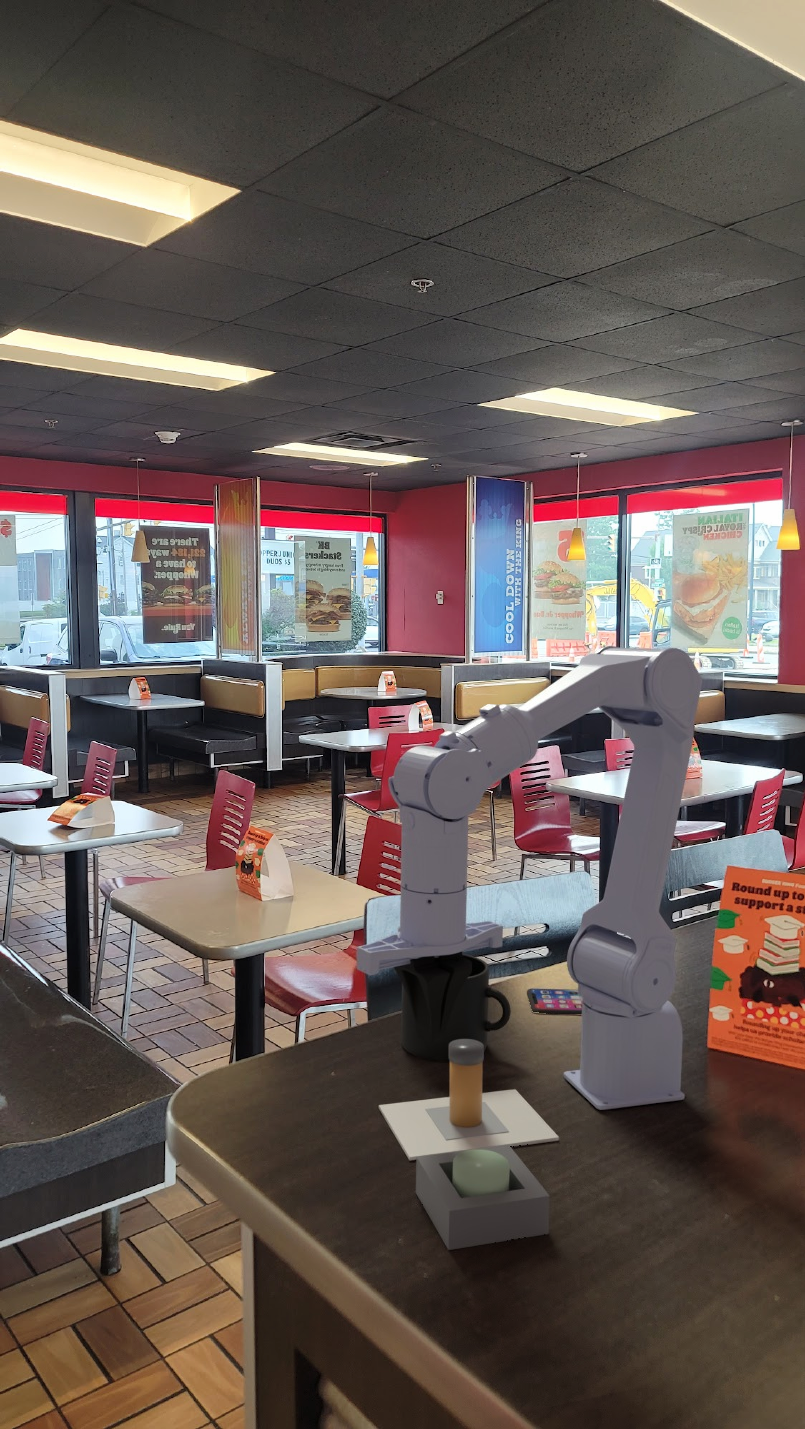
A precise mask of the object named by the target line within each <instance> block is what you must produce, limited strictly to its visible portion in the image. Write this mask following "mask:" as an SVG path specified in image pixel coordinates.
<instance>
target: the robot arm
mask: <svg viewBox="0 0 805 1429" xmlns="http://www.w3.org/2000/svg"><path fill="white" fill-rule="evenodd" d="M703 681H704V680H703V678H702V677H701V674H700V673H699V671H698V669H697V667H696V665H695V663H694V661H693V660H692V658H691V657H690V655H689V654H688V653H687V652H686V651H685V650H682V649H680V648H677V647H667V648H636V647H634V648H632V647H619V646H613V645H607V646H602V647H600V648H598V649H597V650H596V651H594V653H590V654H587V655H584V656H582V657H581V658H580V660H579V664H578V665H577V666H576V667H575V668H573V669H572V670H570V671H569V672H568V673H566V674H565V675H563V676H562V677H560V678H559V679H557V680H556V681H555V682H553V683H551V684H550V685H549V686H547V687H546V688H545V689H543V690H542V691H540V692H539V693H538V694H536V695H535V696H533V697H532V698H530V699H528V700H527V701H525V703H523V704H522V705H520V706H519V707H515V706H514V705H510V704H506V703H502V704H501V703H500V704H493V703H488V704H486V705H484V706H483V707H481V708H479V709H478V712H479V716H478V717H476V718H475V719H473V720H471V721H469V722H468V723H466V724H465V725H463V726H461V727H460V728H458V729H456V730H455V731H452V730H451V731H450V730H446V731H444V732H443V733H441V734H439V737H438V739H439V740H438V741H437V742H435V745H434V746H430V745H417V746H414V747H412V748H410V749H408V750H407V751H406V752H405V753H404V754H403V755H402V756H401V757H400V758H399V760H398V762H397V764H396V766H395V768H394V772H393V776H390V777H389V778H388V781H387V782H388V789H389V793H390V795H391V797H392V799H393V800H394V802H395V803H396V804H397V806H398V810H399V823H400V824H401V840H400V841H401V844H400V845H401V850H400V851H401V852H400V853H401V854H400V855H401V856H400V911H399V913H400V914H399V918H400V919H399V926H398V928H397V931H398V932H397V931H396V932H395V933H393V934H391V935H389V936H386V937H383V938H381V939H378V940H376V941H374V942H371V943H367V944H364V945H360V946H357V947H356V969H357V971H360V972H362V973H364V974H366V975H368V976H373V975H377V974H379V973H380V971H381V970H382V971H383V970H386V969H390V968H393V969H394V971H395V972H396V974H397V976H398V978H399V980H400V981H401V985H402V984H403V986H404V988H405V991H406V993H407V996H408V998H409V1001H410V1004H411V1008H412V1011H413V1015H414V1019H415V1024H416V1029H417V1034H418V1037H419V1038H421V1039H422V1040H424V1041H426V1042H428V1043H430V1044H435V1043H438V1042H442V1041H443V1040H444V1036H445V1032H446V1029H447V1025H448V1022H449V1018H450V1015H451V1012H452V1009H453V1006H454V1003H455V1001H456V998H457V996H458V994H459V992H460V990H461V988H462V986H463V984H464V983H465V981H466V980H467V978H468V977H469V975H470V974H471V971H472V962H471V961H470V960H468V959H466V958H463V957H462V954H463V953H465V952H469V951H474V950H479V949H484V948H486V947H490V948H492V949H497V948H502V947H503V939H504V938H503V933H504V932H503V931H504V930H503V929H504V925H502V924H499V923H496V922H493V921H490V920H486V921H479V922H478V921H477V922H469V923H467V905H468V904H467V903H468V902H467V901H468V900H467V895H468V894H467V893H468V857H469V856H468V854H469V853H468V850H469V849H468V848H469V846H468V844H469V841H468V840H469V815H472V814H473V813H474V812H476V811H477V809H478V807H479V806H480V804H481V802H482V799H483V797H484V795H485V792H486V791H487V790H488V789H490V788H491V786H493V785H494V784H496V783H498V782H499V781H501V780H503V779H504V778H505V777H507V776H508V775H509V774H512V773H513V772H515V771H517V769H520V767H521V768H522V766H524V765H525V764H527V763H528V762H530V761H531V760H532V759H534V758H535V756H536V755H537V752H538V747H539V740H541V739H542V738H545V737H546V736H548V735H551V733H553V732H555V731H557V730H559V729H560V728H563V727H565V726H566V725H568V724H570V723H572V722H574V721H575V720H577V719H579V718H581V717H583V716H585V715H586V714H588V713H590V712H592V711H594V710H596V709H599V710H601V711H602V712H603V713H604V714H605V715H606V716H607V717H609V718H610V719H611V720H612V721H613V722H614V723H615V724H616V725H617V726H618V727H620V728H621V729H622V730H623V731H624V733H626V735H627V737H628V739H629V740H630V741H631V743H632V745H633V747H634V749H633V754H632V758H631V763H630V768H629V774H628V778H627V782H626V787H625V791H624V792H625V793H624V796H623V797H624V798H623V801H622V808H621V811H620V812H621V813H620V816H619V820H618V821H619V822H618V826H617V832H616V838H615V841H614V847H613V852H612V856H611V860H610V861H611V862H610V865H609V871H608V877H607V880H606V886H605V890H604V894H603V899H602V900H601V901H599V902H598V903H596V904H595V905H593V906H591V907H590V908H589V909H587V910H586V911H584V912H583V913H582V917H581V920H580V921H581V922H580V925H579V928H578V931H577V933H576V934H575V936H574V938H573V939H572V941H571V943H570V945H569V948H568V950H567V956H566V966H567V971H568V974H569V977H570V978H571V979H572V980H573V982H574V983H576V984H577V990H578V995H580V996H581V997H582V999H583V1000H582V1015H581V1026H580V1027H581V1029H580V1030H581V1032H580V1033H581V1034H580V1056H579V1057H580V1058H579V1059H580V1063H579V1069H576V1070H566V1071H564V1072H563V1078H564V1079H565V1080H566V1081H567V1082H569V1083H570V1084H571V1085H572V1086H573V1087H574V1088H575V1090H577V1091H578V1092H579V1093H580V1094H581V1095H582V1096H583V1097H584V1098H586V1099H587V1100H588V1102H589V1103H591V1105H593V1106H594V1107H595V1108H596V1109H597V1110H600V1111H602V1110H604V1111H605V1110H612V1109H619V1108H629V1107H635V1106H644V1105H650V1104H656V1103H659V1104H661V1103H667V1102H675V1101H682V1100H684V1099H685V1096H686V1095H685V1093H684V1092H682V1091H681V1084H682V1083H681V1082H682V1063H683V1062H682V1059H683V1039H684V1038H683V1034H684V1033H683V1026H682V1021H681V1018H680V1015H679V1012H678V1011H677V1009H676V1007H675V1005H673V1004H672V1002H671V1001H669V999H670V997H671V996H672V993H673V991H674V989H675V984H676V980H677V978H676V977H677V969H676V968H677V967H676V962H675V961H676V960H675V954H676V952H675V951H676V946H677V943H678V942H677V940H678V939H677V938H676V936H675V934H674V932H673V931H672V930H671V928H670V926H669V925H668V924H667V923H666V921H665V920H664V918H663V917H662V915H661V913H660V907H661V902H662V897H663V892H664V889H665V888H664V887H665V881H666V876H667V872H668V866H669V862H670V857H671V851H672V847H673V843H674V838H675V832H676V827H677V822H678V818H679V812H680V808H681V803H682V799H683V791H684V789H685V783H686V778H687V773H688V767H689V763H690V760H691V759H690V758H691V753H692V748H693V745H694V734H695V733H694V732H695V731H694V725H695V721H696V716H697V715H696V714H697V711H698V705H699V699H700V696H701V691H702V686H703Z"/></svg>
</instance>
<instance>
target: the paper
mask: <svg viewBox="0 0 805 1429" xmlns="http://www.w3.org/2000/svg"><path fill="white" fill-rule="evenodd" d="M449 1103H450V1096H447V1097H446V1096H445V1097H437V1098H431V1099H430V1098H429V1099H422V1100H421V1099H420V1100H414V1101H403V1102H395V1103H387V1104H379V1105H378V1110H379V1112H380V1113H381V1114H382V1117H383V1118H384V1120H385V1122H386V1123H387V1125H388V1127H389V1128H390V1130H391V1132H392V1133H393V1135H394V1137H395V1138H396V1140H397V1142H398V1144H399V1145H400V1147H401V1149H402V1150H403V1152H404V1154H405V1155H406V1157H407V1159H408V1161H409V1162H410V1161H415V1160H417V1157H420V1156H428V1155H435V1154H443V1153H450V1152H458V1151H465V1150H473V1149H480V1148H488V1147H495V1146H503V1145H509V1146H512V1147H511V1148H513V1146H514V1147H520V1146H519V1145H521V1146H528V1145H534V1144H542V1143H548V1142H549V1143H550V1142H558V1141H560V1137H559V1135H558V1134H556V1132H555V1131H554V1130H553V1128H551V1126H549V1125H548V1123H546V1121H545V1120H544V1119H543V1118H542V1117H541V1116H540V1115H539V1113H538V1112H537V1111H536V1110H535V1109H534V1107H532V1106H531V1105H530V1104H529V1103H528V1102H527V1100H526V1099H525V1098H524V1097H523V1096H522V1095H521V1094H520V1093H519V1092H518V1090H517V1089H516V1088H514V1089H507V1090H506V1089H504V1090H497V1091H490V1092H482V1122H481V1123H480V1124H479V1125H477V1126H474V1127H460V1126H456V1125H454V1124H452V1123H451V1122H450V1120H449ZM527 1144H528V1145H527Z"/></svg>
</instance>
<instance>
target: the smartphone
mask: <svg viewBox="0 0 805 1429" xmlns="http://www.w3.org/2000/svg"><path fill="white" fill-rule="evenodd" d="M526 996H527V1000H528V999H529V1000H528V1003H529V1002H530V1003H529V1006H530V1005H531V1007H530V1010H531V1009H532V1010H531V1012H532V1011H533V1012H539V1013H546V1014H545V1015H558V1014H582V1000H583V999H582V997H581V996H580V995H578V989H566V988H565V989H564V988H562V989H561V988H560V989H559V988H529V989H527V990H526ZM533 1012H532V1013H533Z"/></svg>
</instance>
